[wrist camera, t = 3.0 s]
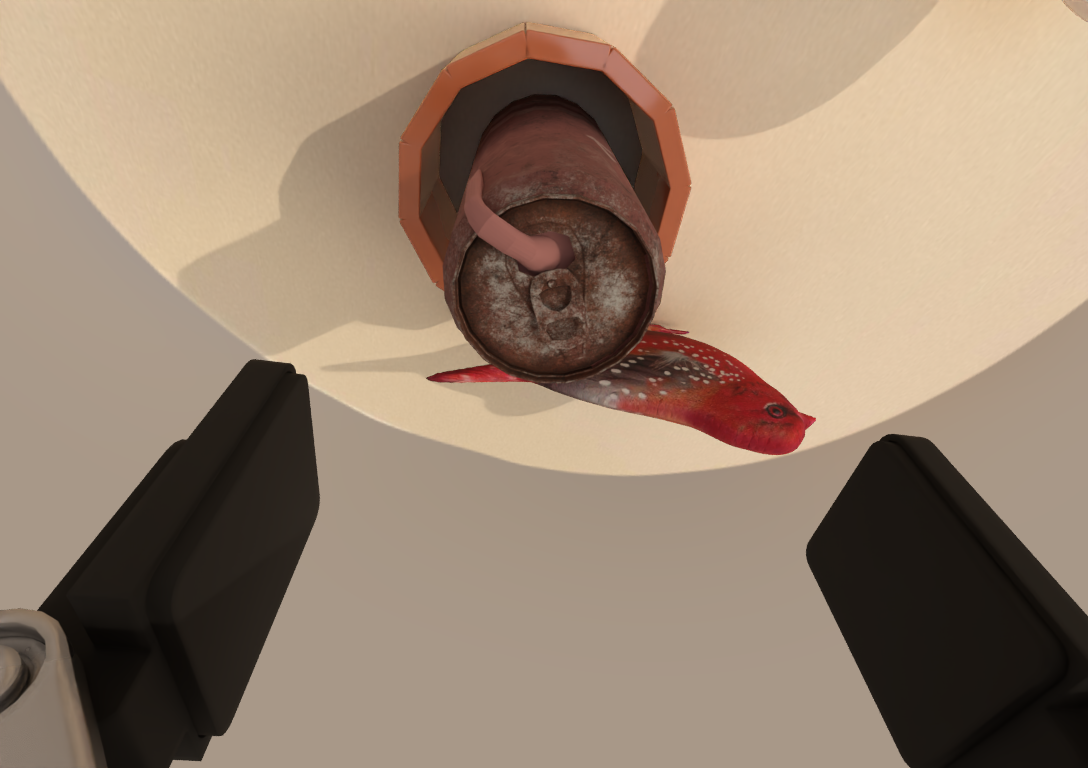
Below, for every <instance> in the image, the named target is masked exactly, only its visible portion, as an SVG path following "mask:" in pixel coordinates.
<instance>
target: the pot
mask: <svg viewBox="0 0 1088 768" xmlns="http://www.w3.org/2000/svg"><path fill="white" fill-rule="evenodd" d="M528 58H529V59H534V60H540V61H546V62H551V63H557V64H563V65H568V66H574V67H580V68H585V69H591V70H596V71H601V72H602V73H604V74H605V75H606V76H607V77H608V78H609V79H610V80H611V81H612V82H613V83H614V84H615V85H616V86H617V87H618V88H619V89H620V90H621V91H622V92H623V93H624V94H625V95H626V96H627V97H628V99H629V103H630V106H631V110H632V114H633V118H634V121H635V125H636V129H637V132H638V136H639V140H640V144H641V147H642V151H643V152H642V156H641V161H640V165H639V169H638V173H637V177H636V181H635V185H634V189H633V190H634V192H635V194H636V195H637V197H638V199H639V201H640V203H641V205H642V206H643V208H644V210H645V212H646V214H647V216H648V217H649V219H650V221H651V223H652V225H653V226H654V228H655V230H656V232H657V234H658V236H659V237H660V240H661V246H662V252H663V258H664V264H665V263H666V262H667V261H668V257H670V256H671V254H672V251H673V247H674V244H675V241H676V237H677V234H678V231H679V227H680V224H681V221H682V217H683V214H684V211H685V207H686V204H687V201H688V197H689V194H690V191H691V187H690V185H691V179H690V174H689V170H688V166H687V161H686V157H685V152H684V148H683V144H682V139H681V135H680V130H679V126H678V121H677V117H676V113H675V109H674V108H673V107H672V104H671V103H670V102H669V101H668V100H667V99H666V98H665V97H664V96H663V95H662V94H661V93H660V92H659V91H658V90H657V89H656V88H655V87H654V86H653V85H652V84H651V83H650V82H649V81H648V80H647V79H646V78H645V77H644V76H643V75H642V74H641V73H640V72H639V71H638V70H637V69H636V68H635V67H634V66H633V65H632V64H631V63H630V62H629V61H628V60H627V59H626V58H625V57H624V56H623V55H622V54H621V53H620V52H619V51H618V50H617V49H616V48H615V47H614V46H612V45H610V44H609V43H607V42H605V41H604V40H602V39H600V38H599V37H597V36H595V35H593V34H591V33H585V32H580V31H575V30H569V29H564V28H558V27H553V26H548V25H542V24H537V23H531V22H526V27H525V24H524V23H520V24H518V25H516V26H514V27H512V28H510V29H507V30H505V31H503V32H501V33H499V34H497V35H495V36H492V37H490V38H488V39H486V40H484V41H482V42H480V43H477V44H475V45H473V46H471V47H469V48H467V49H464V50H463V51H462V52H461V53H459V54H458V55H457V56H456V57H455V58H454V59H453V60H452V61H451V62H450V63H449V64H447V65H446V66H445V67H444V68H443V69H442V70H441V72H440V74H439V75H438V77H437V79H436V80H435V82H434V83H433V85H432V87H431V88H430V90H429V92H428V93H427V95H426V96H425V98H424V100H423V101H422V103H421V105H420V106H419V108H418V109H417V111H416V113H415V114H414V116H413V118H412V119H411V121H410V122H409V124H408V126H407V127H406V129H405V131H404V132H403V134H402V135H401V141H400V142H399V211H398V216H399V218H400V219H401V220H400V224H401V225H402V227H403V229H404V231H405V233H406V235H407V236H408V238H409V240H410V242H411V244H412V245H413V247H414V249H415V251H416V253H417V255H418V256H419V258H420V260H421V262H422V264H423V266H424V267H425V269H426V271H427V273H428V275H429V277H430V278H431V280H432V282H433V283H436V286H437V287H439V288H440V289H442V290H443V291H444V281H443V267H442V266H443V262H444V259H445V255H446V252H447V248H448V244H449V241H450V237H451V234H452V230H453V227H454V224H455V221H456V217H457V212H456V210H455V208H454V206H453V204H452V202H451V200H450V198H449V196H448V194H447V192H446V189H445V187H444V185H443V183H442V181H441V179H440V177H439V166H440V145H441V123H442V118H443V116H444V115H445V113H446V112H447V110H448V109H449V107H450V106H451V104H452V102H453V101H454V99H455V98H456V96H457V95H458V93H459V92H460V90H461V89H462V88H464V87H466V86H468V85H470V84H473V83H475V82H477V81H479V80H481V79H484V78H486V77H488V76H490V75H493V74H495V73H497V72H499V71H501V70H504V69H506V68H508V67H510V66H512V65H515V64H517V63H519V62H521V61H524V60H526V59H528Z"/></svg>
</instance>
